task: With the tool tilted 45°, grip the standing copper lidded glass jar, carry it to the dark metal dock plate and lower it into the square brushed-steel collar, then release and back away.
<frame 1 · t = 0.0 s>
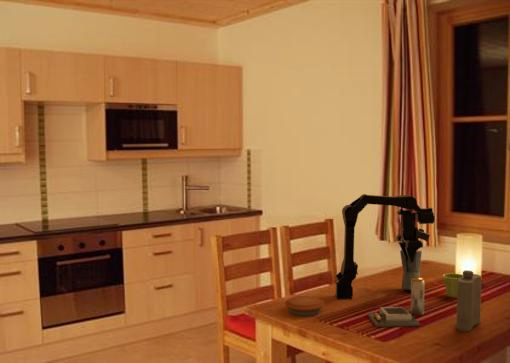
hand: (409, 260, 233), 16 cm above the table, tool pointing down, fingers open, 6 cm apart
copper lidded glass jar: (417, 312, 213), on the table
dock: (393, 320, 204), on the table
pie: (304, 312, 216), on the table
flask: (467, 325, 199), on the table
moka pot: (412, 290, 243), on the table, touching gripper
plant pot: (453, 296, 235), on the table
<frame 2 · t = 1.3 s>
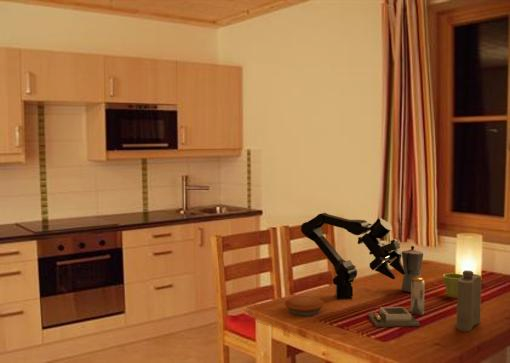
hand: (399, 276, 217), 13 cm above the table, tool tilted 45°, fingers open, 9 cm apart
moka pot: (412, 291, 243), on the table
everything else where it was.
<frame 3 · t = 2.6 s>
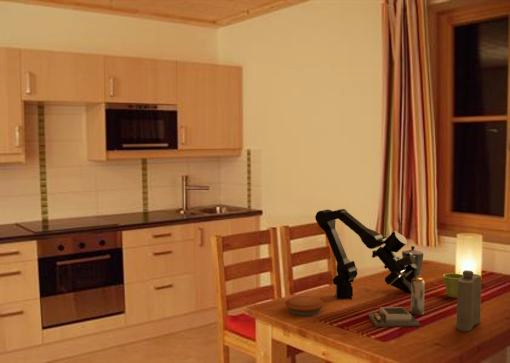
hand: (415, 290, 213), 9 cm above the table, tool tilted 45°, fingers open, 9 cm apart
nothing on the table moved.
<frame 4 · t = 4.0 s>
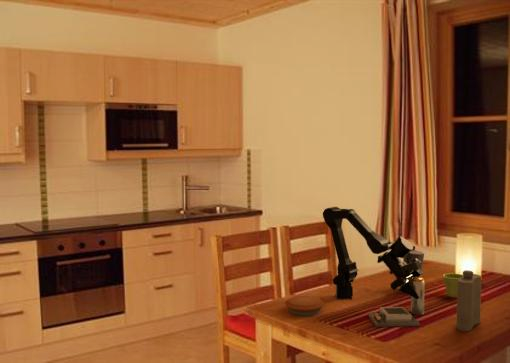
hand: (421, 296, 212), 7 cm above the table, tool tilted 45°, fingers closed on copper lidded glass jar, 5 cm apart
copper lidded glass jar: (417, 312, 213), on the table, touching gripper
everything else where it was.
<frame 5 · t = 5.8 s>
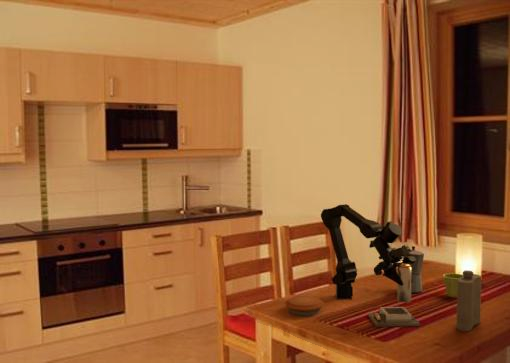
hand: (407, 284, 205), 13 cm above the table, tool tilted 45°, fingers closed on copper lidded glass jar, 5 cm apart
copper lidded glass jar: (404, 300, 206), point 7 cm above the table, touching gripper
everything else where it was.
when the fingers open (9 cm above the table, at t = 7.6 s): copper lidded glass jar drops 1 cm, resting on dock.
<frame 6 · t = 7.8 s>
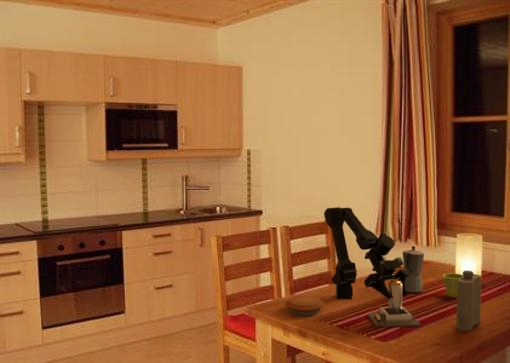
hand: (398, 297, 203), 9 cm above the table, tool tilted 45°, fingers open, 7 cm apart
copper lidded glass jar: (395, 317, 205), point 1 cm above the table, touching dock
everything else where it was.
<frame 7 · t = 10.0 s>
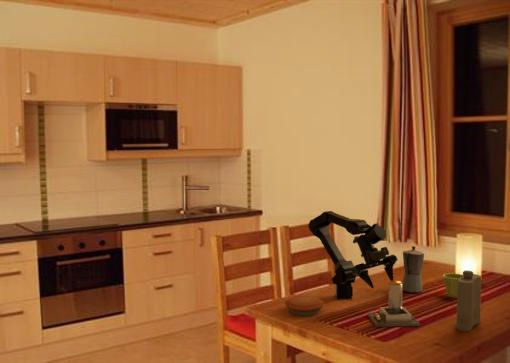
hand: (382, 284, 215), 10 cm above the table, tool tilted 35°, fingers open, 9 cm apart
nothing on the table moved.
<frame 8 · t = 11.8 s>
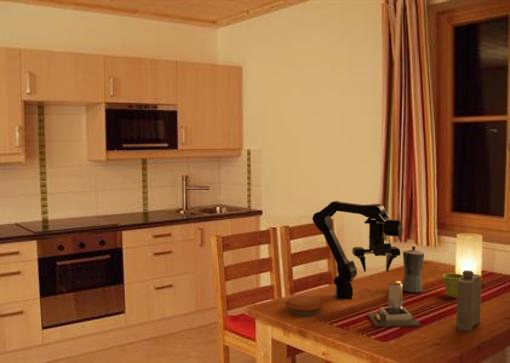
hand: (375, 271, 226), 13 cm above the table, tool pointing down, fingers open, 9 cm apart
nothing on the table moved.
at the end: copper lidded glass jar 0.0 cm from the target spot on the dock, point 1.0 cm above the dock's base; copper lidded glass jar tilted 0°; the gripper is holding nothing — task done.
